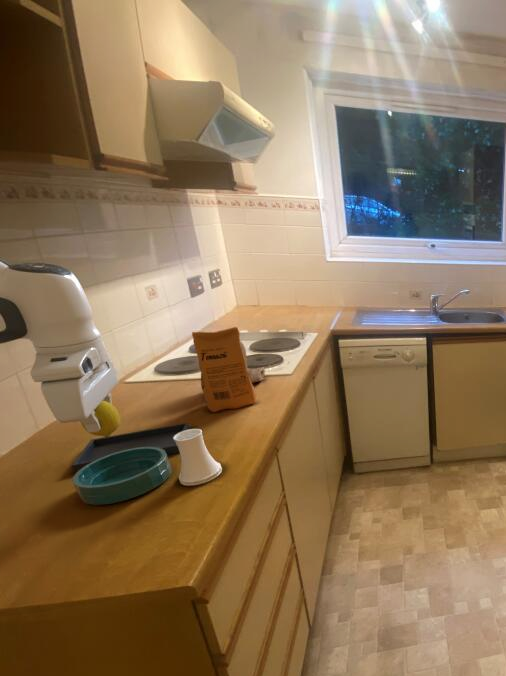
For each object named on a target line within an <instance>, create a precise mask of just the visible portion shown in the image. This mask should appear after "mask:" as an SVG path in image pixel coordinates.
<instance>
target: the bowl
mask: <svg viewBox="0 0 506 676" xmlns="http://www.w3.org/2000/svg"><path fill="white" fill-rule="evenodd" d="M172 472H173V467H172V464H171V462H170V459H169V457H168V455H167V454H166V452H165V450H163V449H161V448H158V447H138V448H133V449H128V450H123V451H119V452H116V453H113V454H110V455H107V456H105V457H102V458H99V459H97V460H95V461H93V462H91V463H90V464H88V465H86V466H84V467H83V468H82V469H80V470H79V471H78V472H77V473H74V475H73V477H72V485H73V486H74V489H75V490H76V493H77V495H78V497H79V499H80V501H82V502H84V504H89V505H93V506H94V505H95V506H102V505H111V504H112V505H113V504H117V503H120V502H124V501H128V500H131V499H133V498H137V497H139V496H142V495H144V494H146V493H148V492H150V491H152V490H154V489H155V488H157V487H159V486H160V485H162V484H163V483H165V481H167V479H169V477H170V476H171V474H172Z"/></svg>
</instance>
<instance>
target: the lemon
mask: <svg viewBox="0 0 506 676" xmlns="http://www.w3.org/2000/svg"><path fill="white" fill-rule="evenodd" d="M94 412H95V414H94V415H95V417H96V418H97V420H99V419H100V421H101V424H102V428H101V429H100V430H99V431H97V432H88V431H87V429H86V427H85V425H84V424H83V423H82V422H81V421H80V424H81V426H82V428H83V429H84V430H85V431H86V432H87V433H89V434H90V435H93V436H98V437H109V436H112V434H113V433H114V432H116V431H117V430H118V428H119V427H120V425H121V417H120V416H121V415H120V414H119V413H120V412H119V411H118V409H117V408H116V407H115V406H114V405H113V404H110V403H108V402H105V401H102V402H101V403H100V404H99V405H98V406H97V407H96V409H95V410H94Z"/></svg>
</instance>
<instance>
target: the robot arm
mask: <svg viewBox="0 0 506 676" xmlns="http://www.w3.org/2000/svg"><path fill="white" fill-rule="evenodd" d="M22 339H23V340H24V339H25V340H29V341H30V342H31V344H32V345H33V348H34V350H35V352H36V353H35V359H34V362H33V365H32V367H31V369H30V377H31V379H32V381H33V382H35V383H40V391H41V393H42V395H43V398H44V400H45V403H46V404H47V406H48V408H49V410H50V412H51V414H52V416H53V417H54V418H55V419H56V420H57V421H58V422H59V423H61V424H69V423H76V422H80V423H81V422H82V423H83V424H84V425H85V427H86V429H87V431H88V432H87V431H86V432H87V433H89V432H97V431H99V430H100V429H101V428H102V424H101V421H100V419H99V420H97V418H96V417H95V415H94V414H95V412H94V410H95V409H96V407H97V406H98V405H99V404H100V403H101V402H102V401H105V402H108V403H110V404H112V393H111V391H112V390H113V389H114V388H115V387H116V386H117V384H118V383H119V374H118V372H117V368H116V367H115V365H114V362H113V361H112V358H111V357H110V354H109V353H108V350H107V347H106V345H105V342H104V339H103V336H102V334H101V333H100V330H99V329H98V328H97V327H96V325H95V323H94V313H93V310H92V307H91V304H90V302H89V299H88V297H87V295H86V293H85V290H84V288H83V286H82V285H81V283H80V281H79V279H78V278H77V277H76V275H75V274H74V273H73V272H72V271H71V270H69V269H68V268H65V267H63V266H61V265H56V264H52V263H45V262H44V263H43V262H36V263H35V262H21V263H15V264H11V263H10V262H8V261H6V260H4V259H3V258H1V257H0V345H3V344H6V343H10V342H13V341H16V340H22ZM112 405H113V404H112Z"/></svg>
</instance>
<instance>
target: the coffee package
mask: <svg viewBox="0 0 506 676" xmlns="http://www.w3.org/2000/svg"><path fill="white" fill-rule="evenodd" d="M191 336H192V339H193V341H192V343H193V345H194V348H195V352H196V356H197V358H198V359H197V360H198V367H199V370H200V386H201V390H202V392H203V396H204V399H205V401H206V403H207V404H206V405H207V409H208V410H209V411H210V412H211V413H216V412H220V411H222V410H227V409H230V410H232V409H233V410H234V409H239V408H243V407H246V406H250V405H252V404H255V403H256V401H257V392H256V389H255V387H254V384H253V383H252V382H251V380H250V379H249V377H248V373H247V370H246V360H245V357H244V354H243V351H242V349H241V345H240V341H241V338H240V336H241V333H240V331H239V328H238V326H234V327H230V328H229V327H228V328H226V329H222V330H218V331H192V333H191Z"/></svg>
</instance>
